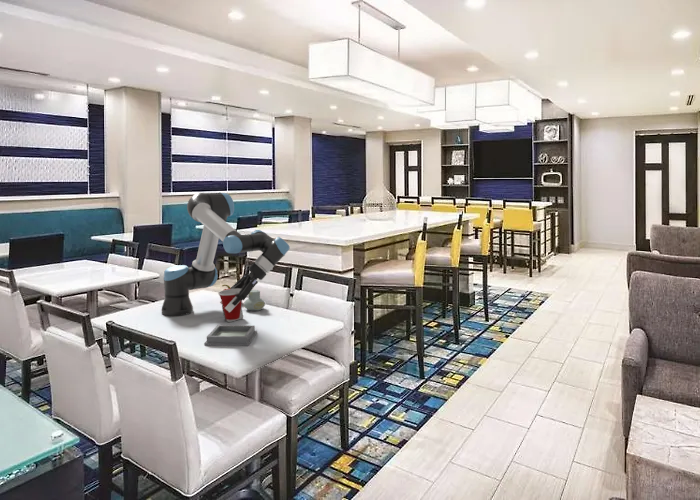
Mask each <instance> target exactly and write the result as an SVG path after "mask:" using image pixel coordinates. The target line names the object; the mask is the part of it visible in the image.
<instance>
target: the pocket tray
mask: <svg viewBox="0 0 700 500" xmlns="http://www.w3.org/2000/svg"><path fill="white" fill-rule="evenodd" d="M255 327H256V326H255V325H242V324H241V325H233V324H230V325H228V324H226V325H225V324H223V325H222V324H217V325H216V326H215V327H214V329H212V330H211V332H209V334H208V335H207V336H206V341H205V342H204V344H203V345H204V346H213V347H214V346H220V347H221V346H224V347H226V346H227V347H249V346H250V344H251V342H252V341H254V338H255V336H256V335H257V333H258V331H257V330H256V328H255Z"/></svg>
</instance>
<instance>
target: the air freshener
mask: <svg viewBox="0 0 700 500" xmlns="http://www.w3.org/2000/svg"><path fill="white" fill-rule="evenodd" d="M265 306H266V302H265V301H264V299H262V298H261V291H260V290H259V289H252V290H251V291H250V293H249V294H248V298H247V299H245V300H244V303H243V307H244V309H246V310H248V311H251V312H259V311H261V310H262V309H264V307H265Z"/></svg>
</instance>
